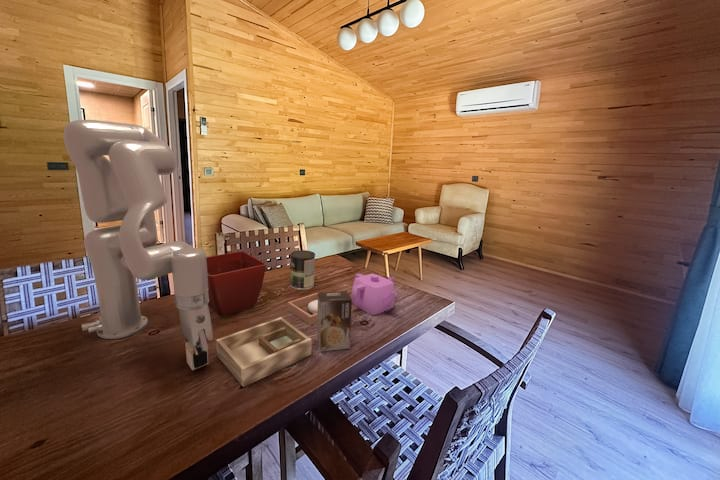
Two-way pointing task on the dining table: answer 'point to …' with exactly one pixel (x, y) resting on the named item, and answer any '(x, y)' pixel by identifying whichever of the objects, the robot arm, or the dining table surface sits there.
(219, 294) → the plant pot
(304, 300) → the garlic dish
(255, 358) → the walled box
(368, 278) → the teakettle
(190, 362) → the small white lidded box
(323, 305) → the coffee box
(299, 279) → the coffee can
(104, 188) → the robot arm
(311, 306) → the garlic
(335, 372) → the dining table surface
